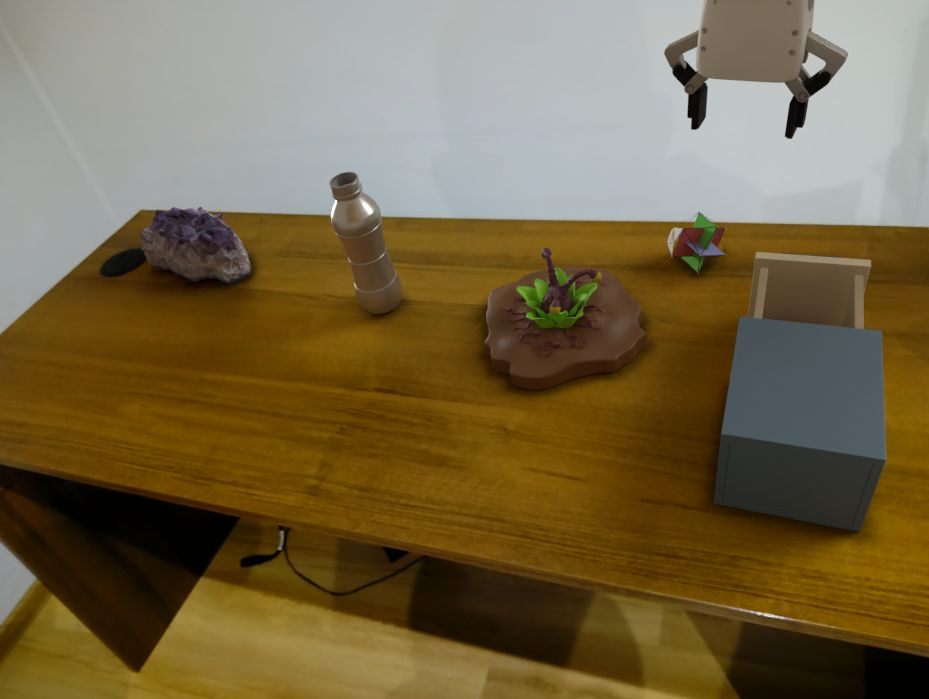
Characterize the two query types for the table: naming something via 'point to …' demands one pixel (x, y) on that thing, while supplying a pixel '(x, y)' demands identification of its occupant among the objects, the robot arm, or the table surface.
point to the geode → (195, 246)
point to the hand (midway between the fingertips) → (743, 128)
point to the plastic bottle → (364, 245)
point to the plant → (562, 326)
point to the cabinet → (803, 422)
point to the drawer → (809, 289)
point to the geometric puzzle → (696, 242)
